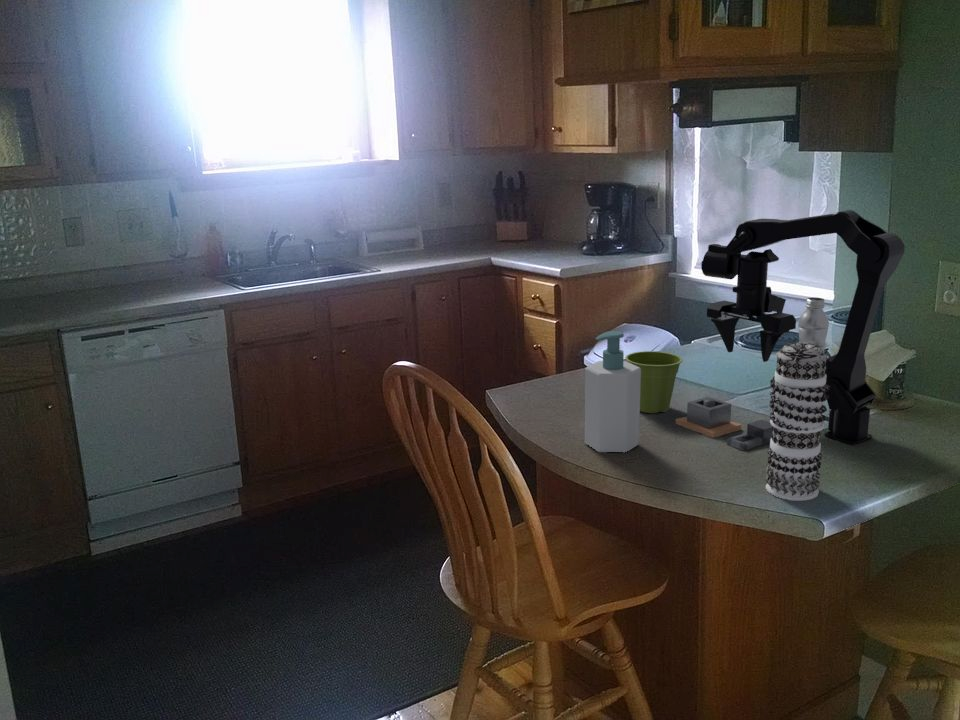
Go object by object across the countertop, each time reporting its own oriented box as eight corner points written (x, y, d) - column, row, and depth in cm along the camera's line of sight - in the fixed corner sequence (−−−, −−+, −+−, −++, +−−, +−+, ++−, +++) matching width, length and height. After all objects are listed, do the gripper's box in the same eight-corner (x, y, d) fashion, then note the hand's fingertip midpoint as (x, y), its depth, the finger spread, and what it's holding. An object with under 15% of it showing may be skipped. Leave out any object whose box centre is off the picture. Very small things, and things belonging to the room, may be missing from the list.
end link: (730, 423, 182) (731, 404, 181) (709, 429, 179) (710, 410, 178) (707, 415, 187) (708, 396, 186) (686, 421, 184) (687, 402, 183)
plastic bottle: (828, 388, 206) (836, 301, 200) (798, 389, 206) (805, 302, 200) (819, 380, 212) (826, 295, 206) (789, 380, 212) (795, 296, 207)
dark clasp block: (777, 439, 176) (778, 425, 175) (743, 450, 171) (744, 435, 170) (760, 434, 179) (761, 419, 178) (726, 444, 174) (727, 429, 173)
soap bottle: (577, 439, 178) (578, 330, 172) (617, 432, 182) (620, 324, 176) (604, 457, 169) (606, 342, 163) (646, 449, 173) (650, 336, 167)
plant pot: (685, 417, 189) (687, 365, 186) (627, 418, 190) (629, 365, 187) (675, 399, 201) (677, 350, 198) (621, 400, 201) (622, 350, 198)
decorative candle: (776, 503, 148) (787, 355, 141) (754, 481, 157) (763, 340, 150) (830, 500, 149) (843, 352, 142) (805, 478, 158) (816, 337, 151)
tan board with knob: (741, 429, 182) (742, 403, 180) (712, 437, 177) (714, 411, 176) (703, 416, 190) (704, 390, 188) (675, 424, 186) (676, 398, 184)
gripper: (816, 284, 181) (810, 359, 185) (743, 271, 196) (739, 341, 200) (779, 291, 175) (774, 369, 180) (706, 277, 190) (703, 349, 195)
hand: (747, 356), depth 189 cm, fingers open, 9 cm apart
